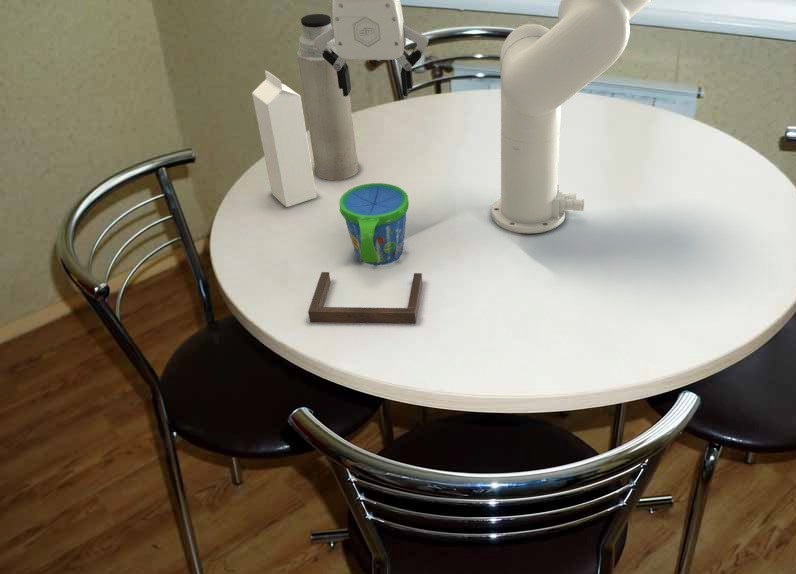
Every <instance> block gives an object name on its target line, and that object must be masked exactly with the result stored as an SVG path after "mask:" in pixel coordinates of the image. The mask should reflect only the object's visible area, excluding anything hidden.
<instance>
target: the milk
mask: <svg viewBox="0 0 796 574" xmlns="http://www.w3.org/2000/svg"><path fill="white" fill-rule="evenodd" d="M264 73H265V79H264V81H262V82H261V83H260V84H259V85H258V86H257V87H256V88H255V89H254V90H253V91H252V92H251V95H252V96H251V97H252V100H253V101H252V102H253V106H254V111H255V115H256V120H257V126H258V131H259V137H260V140H261V141H260V142H261V146H262V150H263V151H262V152H263V156H264V161H265V166H266V171H267V172H266V173H267V177H268V181H269V182H268V183H269V186H270V191H271V194H272V196H273V197H274V198H275V199H277V200H278V201H279V202H280V203H281V204H282V205H283V206H284V207H285V208H289V207H292V206H295V205H298V204H301V203H304V202H307V201H311V200H313V199H316V198H317V191H316V184H315V177H314V172H313V166H312V165H313V164H312V160H311V153H310V147H309V141H308V135H307V129H306V122H305V115H304V110H303V104H302V97H301V95H300V94H299V93H297V92H296V91H294V90H293V89H292V88H290V87H289V86H288V85H286V84H284V83H282V81H281V79H279V78H278V77H276V76H275V75H274V74H272V73H271V72H269V71H268V70H266V69H265V71H264Z"/></svg>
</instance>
